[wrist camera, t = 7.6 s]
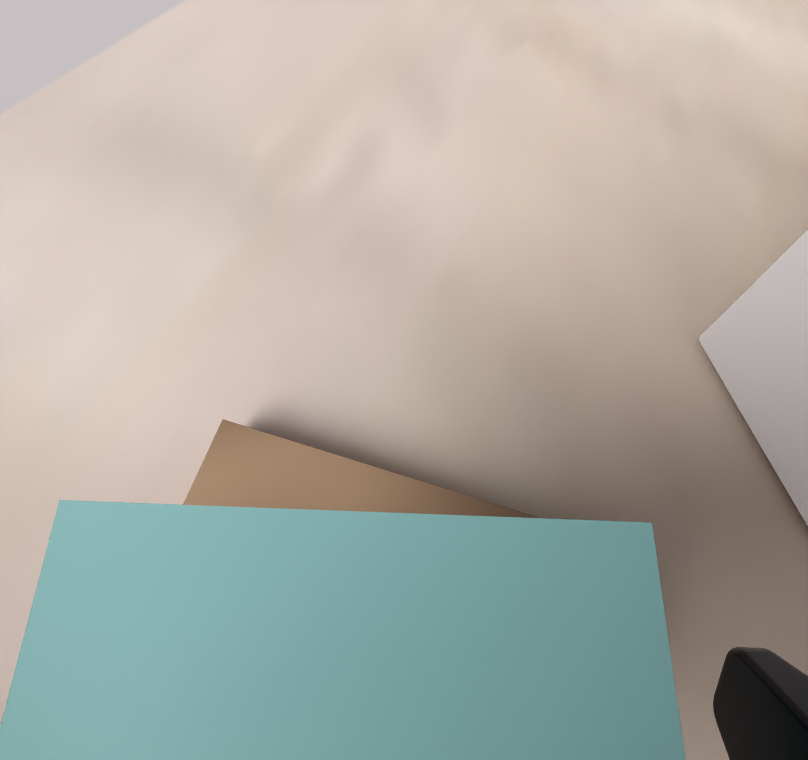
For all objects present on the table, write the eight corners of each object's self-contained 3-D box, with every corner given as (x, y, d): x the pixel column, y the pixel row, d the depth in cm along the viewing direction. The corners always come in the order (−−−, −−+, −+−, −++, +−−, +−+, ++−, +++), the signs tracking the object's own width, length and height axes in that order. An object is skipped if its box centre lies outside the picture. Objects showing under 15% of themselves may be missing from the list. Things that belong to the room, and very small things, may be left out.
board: (545, 1141, 13) (567, 1199, 11) (10, 933, 14) (-30, 962, 12) (629, 561, 18) (650, 552, 16) (233, 437, 18) (222, 419, 17)
